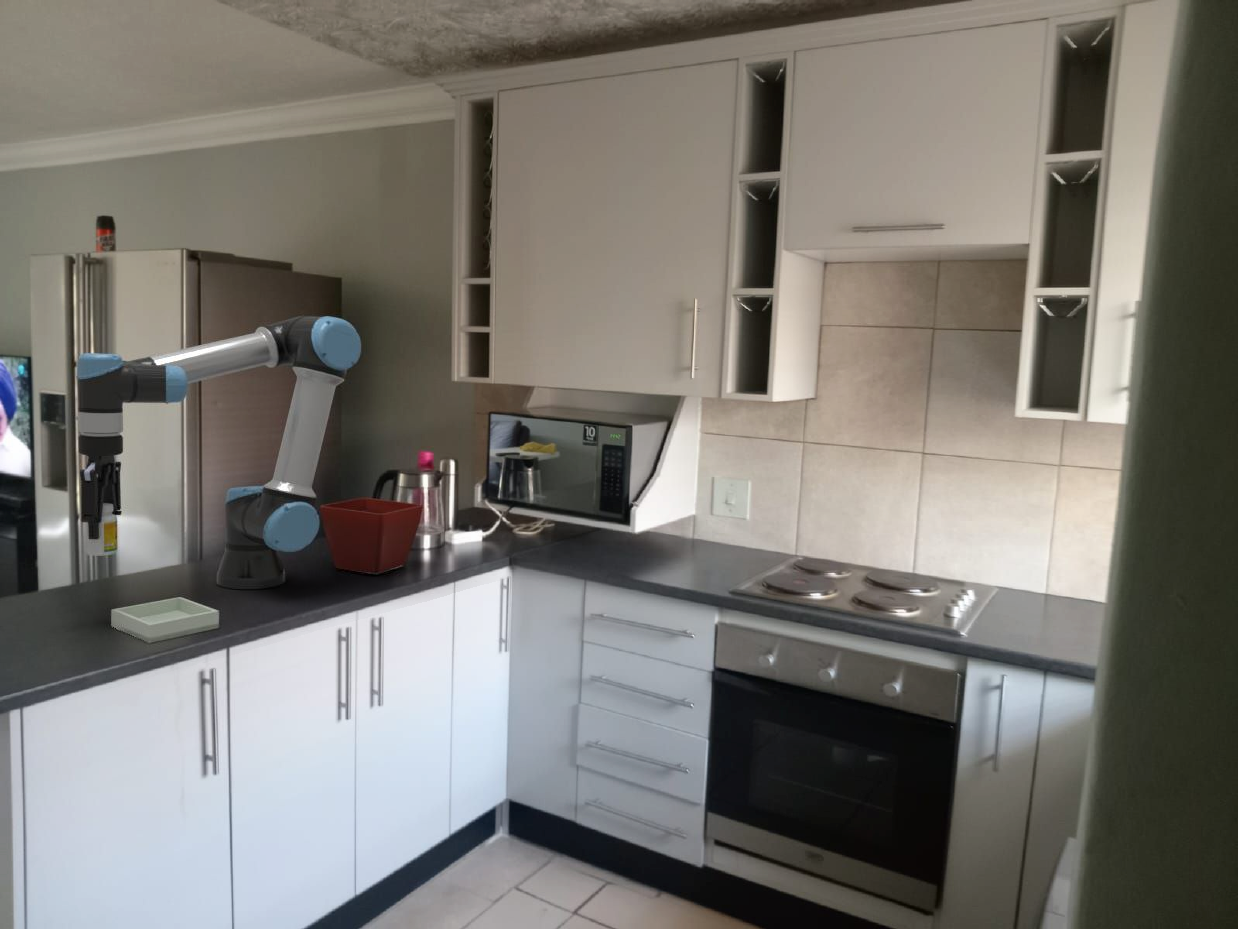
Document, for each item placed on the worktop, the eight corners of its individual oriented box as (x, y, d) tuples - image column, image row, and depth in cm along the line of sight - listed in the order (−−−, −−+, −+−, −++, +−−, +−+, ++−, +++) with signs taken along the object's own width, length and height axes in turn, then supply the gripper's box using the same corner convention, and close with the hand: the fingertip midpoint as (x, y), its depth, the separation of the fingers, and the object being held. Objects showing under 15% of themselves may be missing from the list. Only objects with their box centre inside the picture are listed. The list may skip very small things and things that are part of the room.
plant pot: (361, 557, 251) (364, 496, 249) (422, 566, 245) (424, 504, 243) (316, 570, 234) (318, 505, 232) (379, 581, 227) (382, 514, 225)
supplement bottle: (82, 551, 180) (81, 503, 179) (112, 548, 184) (112, 501, 183) (91, 557, 176) (90, 508, 175) (121, 554, 180) (120, 505, 179)
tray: (180, 613, 191) (180, 596, 190) (218, 628, 183) (218, 611, 183) (111, 627, 179) (111, 609, 179) (149, 643, 172) (149, 625, 171)
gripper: (99, 428, 186) (100, 541, 188) (58, 437, 168) (60, 562, 170) (139, 430, 187) (139, 542, 190) (102, 439, 169) (103, 563, 172)
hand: (102, 551), depth 180 cm, fingers closed on supplement bottle, 5 cm apart
